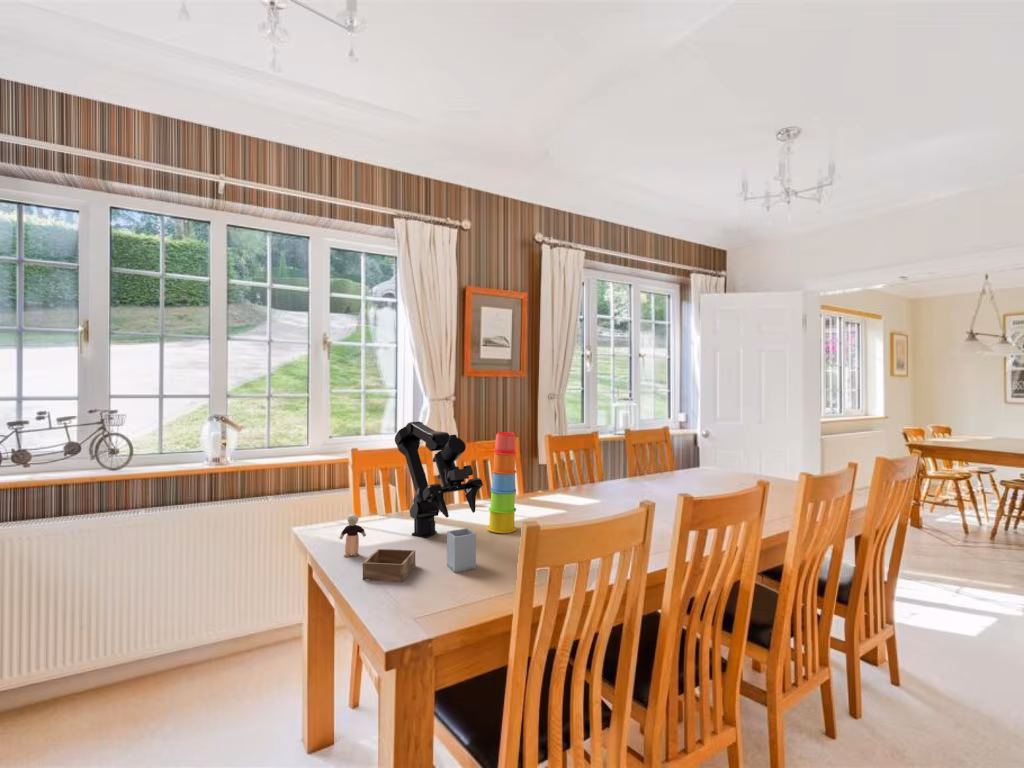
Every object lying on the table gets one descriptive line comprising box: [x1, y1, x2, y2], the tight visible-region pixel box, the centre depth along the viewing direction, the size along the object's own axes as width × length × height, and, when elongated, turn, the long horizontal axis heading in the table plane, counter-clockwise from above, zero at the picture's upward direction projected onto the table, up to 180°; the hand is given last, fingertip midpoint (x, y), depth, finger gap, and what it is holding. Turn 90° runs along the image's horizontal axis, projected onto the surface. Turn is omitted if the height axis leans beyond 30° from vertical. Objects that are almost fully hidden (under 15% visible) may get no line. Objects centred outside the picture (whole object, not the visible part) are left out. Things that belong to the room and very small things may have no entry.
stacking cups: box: [487, 431, 517, 534], centre depth 181 cm, size 10×10×35 cm
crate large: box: [362, 548, 416, 582], centre depth 142 cm, size 11×11×4 cm
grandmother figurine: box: [338, 513, 367, 558], centre depth 156 cm, size 8×4×13 cm, turn 117°
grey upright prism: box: [446, 527, 477, 574], centre depth 146 cm, size 6×6×10 cm
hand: (461, 514), depth 155 cm, fingers open, 9 cm apart
